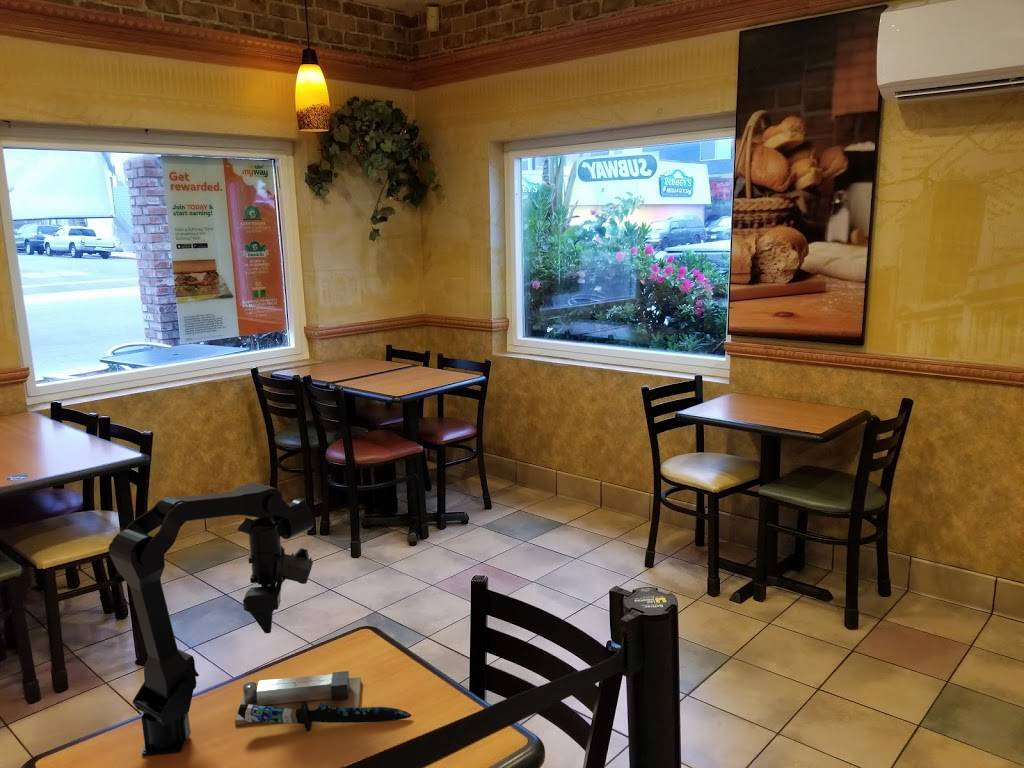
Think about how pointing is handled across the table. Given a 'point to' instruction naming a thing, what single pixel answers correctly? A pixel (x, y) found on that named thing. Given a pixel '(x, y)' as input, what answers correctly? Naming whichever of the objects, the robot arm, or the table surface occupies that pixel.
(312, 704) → the flat board
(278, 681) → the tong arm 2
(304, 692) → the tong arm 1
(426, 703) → the table surface
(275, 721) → the knife
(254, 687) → the tong hinge
